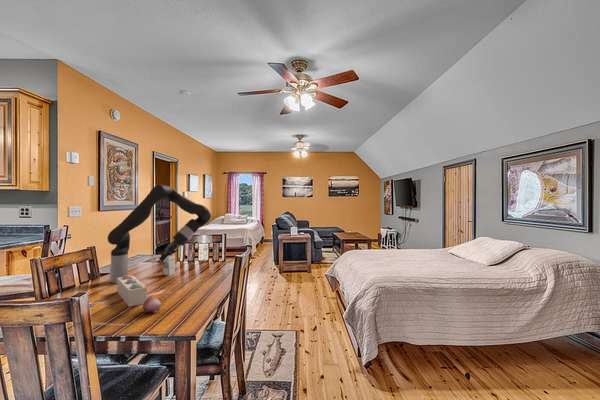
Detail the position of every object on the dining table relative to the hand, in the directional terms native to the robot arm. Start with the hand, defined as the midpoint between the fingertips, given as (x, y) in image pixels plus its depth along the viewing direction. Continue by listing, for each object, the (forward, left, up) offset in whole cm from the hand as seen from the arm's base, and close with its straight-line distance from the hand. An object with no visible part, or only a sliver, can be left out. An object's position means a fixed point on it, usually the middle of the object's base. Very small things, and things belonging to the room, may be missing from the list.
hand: (160, 260), depth 161 cm
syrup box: (-35, +37, -20) cm, 55 cm away
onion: (+13, -16, -20) cm, 29 cm away
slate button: (-15, -6, -13) cm, 21 cm away
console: (-15, -6, -20) cm, 26 cm away
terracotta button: (-25, -1, -13) cm, 28 cm away
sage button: (-5, -11, -13) cm, 18 cm away
